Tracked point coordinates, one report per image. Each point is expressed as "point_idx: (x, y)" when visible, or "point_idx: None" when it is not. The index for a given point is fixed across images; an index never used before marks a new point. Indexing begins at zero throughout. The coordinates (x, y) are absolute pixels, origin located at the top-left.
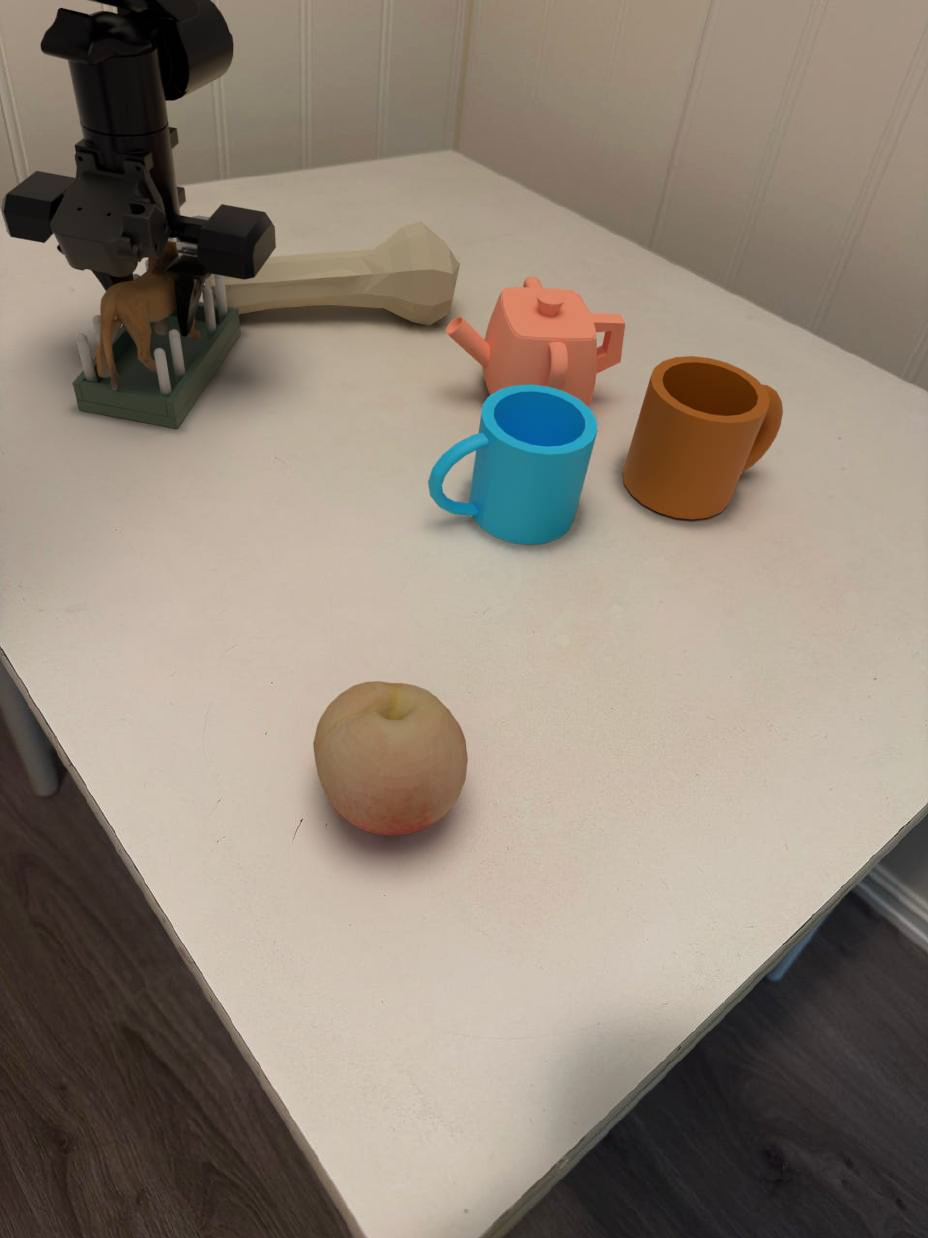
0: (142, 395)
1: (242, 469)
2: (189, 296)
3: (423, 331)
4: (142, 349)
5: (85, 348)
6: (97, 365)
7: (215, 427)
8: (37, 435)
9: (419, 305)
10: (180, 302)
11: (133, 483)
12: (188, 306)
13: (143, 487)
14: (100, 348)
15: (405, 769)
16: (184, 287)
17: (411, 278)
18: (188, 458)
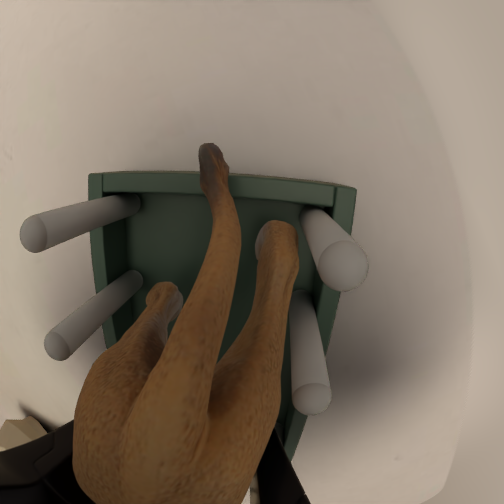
0: (153, 174)
1: (33, 114)
2: (32, 443)
3: (28, 409)
4: (151, 306)
5: (322, 239)
6: (290, 233)
7: (77, 198)
8: (381, 90)
9: (14, 424)
10: (67, 441)
11: (158, 14)
12: (56, 429)
13: (142, 14)
14: (272, 267)
15: None
16: (21, 460)
17: (8, 443)
18: (92, 101)
